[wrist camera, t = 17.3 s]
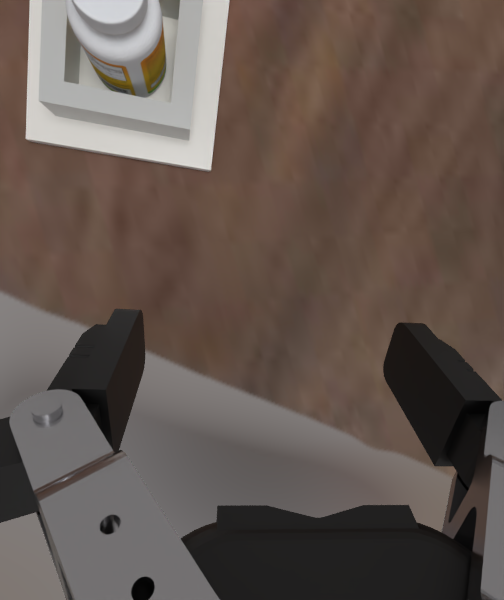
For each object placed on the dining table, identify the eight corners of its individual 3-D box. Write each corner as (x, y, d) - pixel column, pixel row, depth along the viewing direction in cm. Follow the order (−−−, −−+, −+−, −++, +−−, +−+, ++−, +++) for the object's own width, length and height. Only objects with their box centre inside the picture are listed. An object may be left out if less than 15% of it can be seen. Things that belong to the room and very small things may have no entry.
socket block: (229, -10, 29) (238, -52, 25) (209, 172, 32) (214, 163, 27) (37, -63, 26) (9, -120, 22) (30, 141, 29) (4, 126, 24)
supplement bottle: (152, 15, 28) (138, -94, 18) (176, 91, 29) (174, 25, 20) (81, 31, 27) (29, -72, 18) (109, 108, 28) (73, 49, 19)
